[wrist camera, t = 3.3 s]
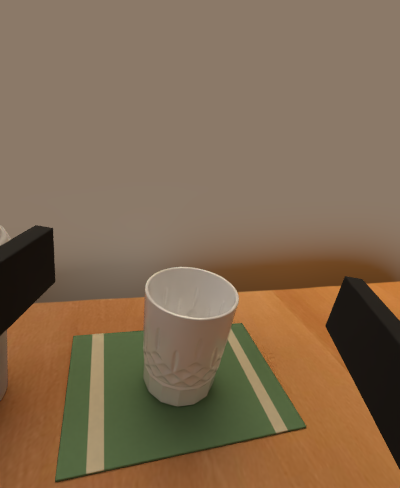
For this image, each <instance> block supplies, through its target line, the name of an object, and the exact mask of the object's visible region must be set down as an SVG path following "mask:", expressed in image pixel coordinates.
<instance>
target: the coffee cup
mask: <svg viewBox="0 0 400 488" xmlns="http://www.w3.org/2000/svg"><path fill="white" fill-rule="evenodd" d="M9 240H11V239H10V236H9V235H8V234H7V232H6V230H5V229H4V228H3V227H2V226H0V246H1V245H2V244H4V243H6V242H8V241H9ZM7 384H8V369H7V330H6V331H5V332H4V333H3V334H2V335H1V336H0V401H1V399H2V398H3V396H4V394H5V392H6V389H7Z"/></svg>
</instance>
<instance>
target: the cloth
mask: <svg viewBox="0 0 400 488" xmlns="http://www.w3.org/2000/svg"><path fill="white" fill-rule="evenodd" d="M143 338H144V336H143V331H132V332H119V333H106V334H93V335H80V336H73V344H72V352H71V360H70V368H69V376H68V383H67V391H66V399H65V407H64V415H63V423H62V431H61V439H60V447H59V455H58V462H57V470H56V478H55V482H59V481H64V480H68V479H73V478H77V477H82V476H87V475H91V474H96V473H100V472H105V471H110V470H114V469H119V468H124V467H128V466H133V465H137V464H142V463H147V462H151V461H156V460H160V459H165V458H170V457H174V456H179V455H183V454H188V453H193V452H197V451H202V450H207V449H211V448H216V447H220V446H225V445H230V444H234V443H239V442H243V441H248V440H253V439H257V438H262V437H267V436H271V435H276V434H280V433H285V432H290V431H294V430H299V429H303V428H306V425H305V423H304V422H303V420H302V419H301V417H300V415H299V414H298V412H297V410H296V409H295V407H294V406H293V404H292V402H291V401H290V399H289V398H288V396H287V394H286V393H285V391H284V390H283V388H282V386H281V385H280V383H279V382H278V380H277V378H276V377H275V375H274V374H273V372H272V370H271V369H270V367H269V366H268V364H267V362H266V361H265V359H264V358H263V356H262V354H261V353H260V351H259V350H258V348H257V346H256V345H255V343H254V341H253V340H252V338H251V337H250V335H249V333H248V332H247V330H246V329H245V327H244V325H243V324H242V323H237V324H232V326H231V329H230V333H229V336H228V340H227V343H226V346H225V349H224V352H223V355H222V358H221V361H220V365H219V367H218V370H217V371H216V375H215V378H214V382H213V385H212V387H211V389H210V391H209V393H208V394H207V396H206V397H205V398H203V399H202V400H200V401H199V402H197V403H195V404H194V405H187V406H179V407H177V406H173V405H169V404H166V403H162V402H160V401H159V400H158V399H157V398H155V397H154V396H153V395H152V394H151V393H150V392H149V391H148V389H147V386H146V384H145V381H144V379H143V375H144V353H143V342H144V339H143Z"/></svg>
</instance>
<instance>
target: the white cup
mask: <svg viewBox="0 0 400 488" xmlns="http://www.w3.org/2000/svg"><path fill="white" fill-rule="evenodd" d="M238 302H239V296H238V293H237V291H236V289H235V288H234V286H233V285H232V284H231V283H230V282H228V281H227V280H226V279H224V278H223V277H221V276H219V275H217V274H214V273H212V272H209V271H206V270H202V269H197V268H190V267H175V268H169V269H165V270H161V271H159V272H157V273H155V274H154V275H152V276H151V277H150V278H149V279H148V281H147V283H146V286H145V305H144V330H143V336H144V338H143V339H144V342H143V353H144V375H143V379H144V381H145V384H146V386H147V389H148V391H149V392H150V393H151V394H152V395H153V396H154V397H155V398H157V399H158V400H159V401H160V402H162V403H166V404H169V405H173V406H177V407H179V406H187V405H194V404H195V403H197V402H199V401H200V400H202V399H203V398H205V397H206V396H207V394H208V393H209V391H210V389H211V387H212V385H213V382H214V378H215V375H216V371H217V370H218V367H219V365H220V361H221V358H222V355H223V352H224V349H225V346H226V343H227V340H228V336H229V333H230V329H231V326H232V322H233V319H234V316H235V312H236V309H237V306H238Z"/></svg>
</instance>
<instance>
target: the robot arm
mask: <svg viewBox="0 0 400 488" xmlns="http://www.w3.org/2000/svg"><path fill="white" fill-rule="evenodd" d="M54 283H55V264H54V242H53V228H49V227H42V226H34V227H32V228H31V229H29V230H27V231H25V232H23V233H22V234H20V235H18V236H17V237H15V238H13V239H11V240H9V241H8V242H6V243H4V244H2V245H1V246H0V336H1V335H2V334H3V333H4V332H5V331H6V330H7V329H8V328H9V327H10V326H11V325H12V324H13V323H14V322H15V321H16V320H17V319H18V318H19V317H20V316H21V315H22V314H23V313H24V312H25V311H26V310H27V309H28V308H29V307H30V306H31V305H32V304H33V303H34V302H35V301H36V300H37V299H38V298H39V297H40V296H41V295H42V294H43V293H44V292H45V291H46V290H47V289H48V288H49V287H50V286H51V285H53V284H54ZM326 328H327V330H328V332H329V334H330V336H331V338H332V340H333V342H334V344H335V346H336V347H337V349H338V351H339V353H340V355H341V357H342V359H343V361H344V363H345V365H346V367H347V369H348V371H349V373H350V375H351V376H352V378H353V380H354V382H355V384H356V386H357V388H358V390H359V392H360V394H361V396H362V398H363V400H364V402H365V404H366V405H367V407H368V409H369V411H370V413H371V415H372V417H373V419H374V421H375V423H376V425H377V427H378V429H379V431H380V433H381V434H382V436H383V438H384V440H385V442H386V444H387V446H388V448H389V450H390V452H391V454H392V456H393V458H394V460H395V462H396V464H397V465H398V467H399V469H400V321H399V320H398V319H397V317H396V316H395V315H394V314H393V313H392V312H391V311H390V310H389V309H388V307H387V306H386V305H385V304H384V303H383V302H382V301H381V300H380V299H379V297H378V296H377V295H376V294H375V293H374V292H373V291H372V290H371V289H370V287H369V286H368V285H367V284H366V283H365V282H364V281H363V280H362V279H358V278H352V277H346V276H345V278H344V280H343V283H342V285H341V288H340V291H339V293H338V296H337V298H336V301H335V303H334V306H333V308H332V311H331V313H330V316H329V318H328V321H327V323H326Z"/></svg>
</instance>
